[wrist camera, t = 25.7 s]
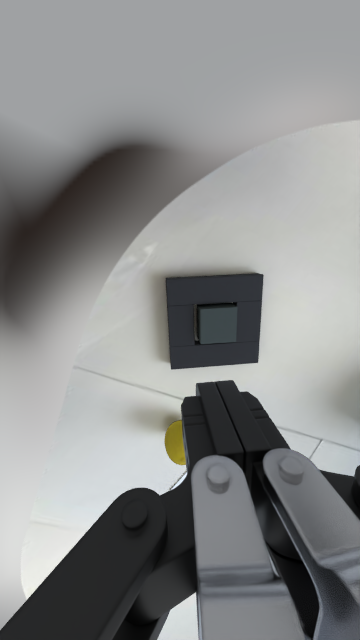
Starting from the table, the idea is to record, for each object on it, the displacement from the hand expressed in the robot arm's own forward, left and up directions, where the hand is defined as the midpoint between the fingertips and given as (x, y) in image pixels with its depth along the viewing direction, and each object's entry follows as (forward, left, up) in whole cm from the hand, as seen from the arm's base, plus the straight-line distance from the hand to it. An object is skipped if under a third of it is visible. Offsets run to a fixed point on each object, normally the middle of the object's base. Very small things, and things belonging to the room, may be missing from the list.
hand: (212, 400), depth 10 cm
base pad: (+5, +6, -27) cm, 28 cm away
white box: (+39, +3, -27) cm, 48 cm away
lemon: (+24, 0, -27) cm, 36 cm away
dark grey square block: (+5, +6, -27) cm, 28 cm away
